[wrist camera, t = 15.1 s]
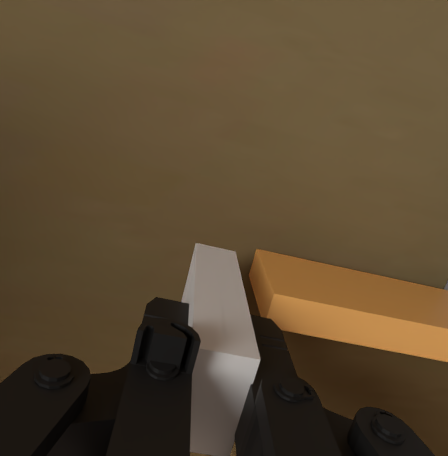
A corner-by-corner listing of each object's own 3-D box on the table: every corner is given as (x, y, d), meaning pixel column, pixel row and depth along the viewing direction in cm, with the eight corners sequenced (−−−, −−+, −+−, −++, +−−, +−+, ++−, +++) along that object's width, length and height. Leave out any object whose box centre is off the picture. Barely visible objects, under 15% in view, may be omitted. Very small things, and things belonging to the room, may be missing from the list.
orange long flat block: (248, 275, 17) (263, 326, 13) (256, 248, 16) (274, 293, 13) (503, 328, 18) (583, 387, 15) (514, 304, 18) (599, 359, 14)
